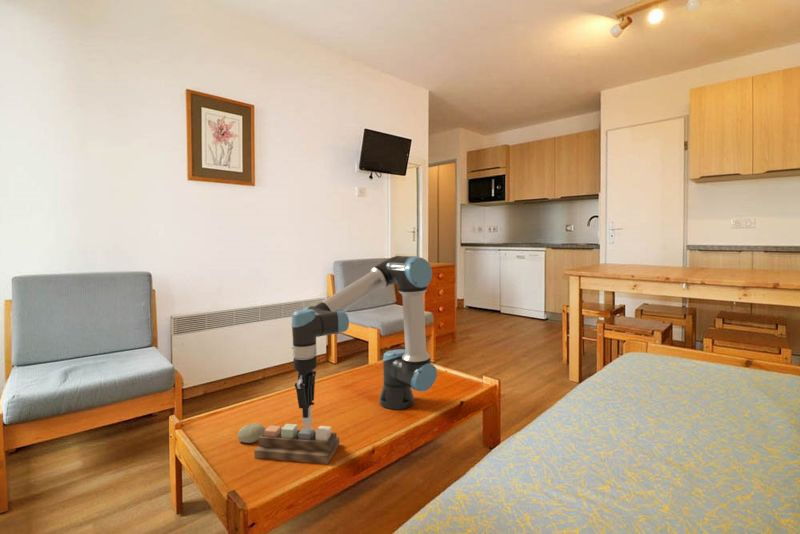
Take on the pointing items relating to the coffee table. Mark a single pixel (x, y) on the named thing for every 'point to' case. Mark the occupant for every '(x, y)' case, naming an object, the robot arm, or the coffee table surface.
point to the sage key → (289, 431)
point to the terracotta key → (272, 431)
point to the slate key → (306, 434)
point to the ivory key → (323, 433)
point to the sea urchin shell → (250, 432)
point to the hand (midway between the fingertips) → (307, 425)
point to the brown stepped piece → (297, 448)
